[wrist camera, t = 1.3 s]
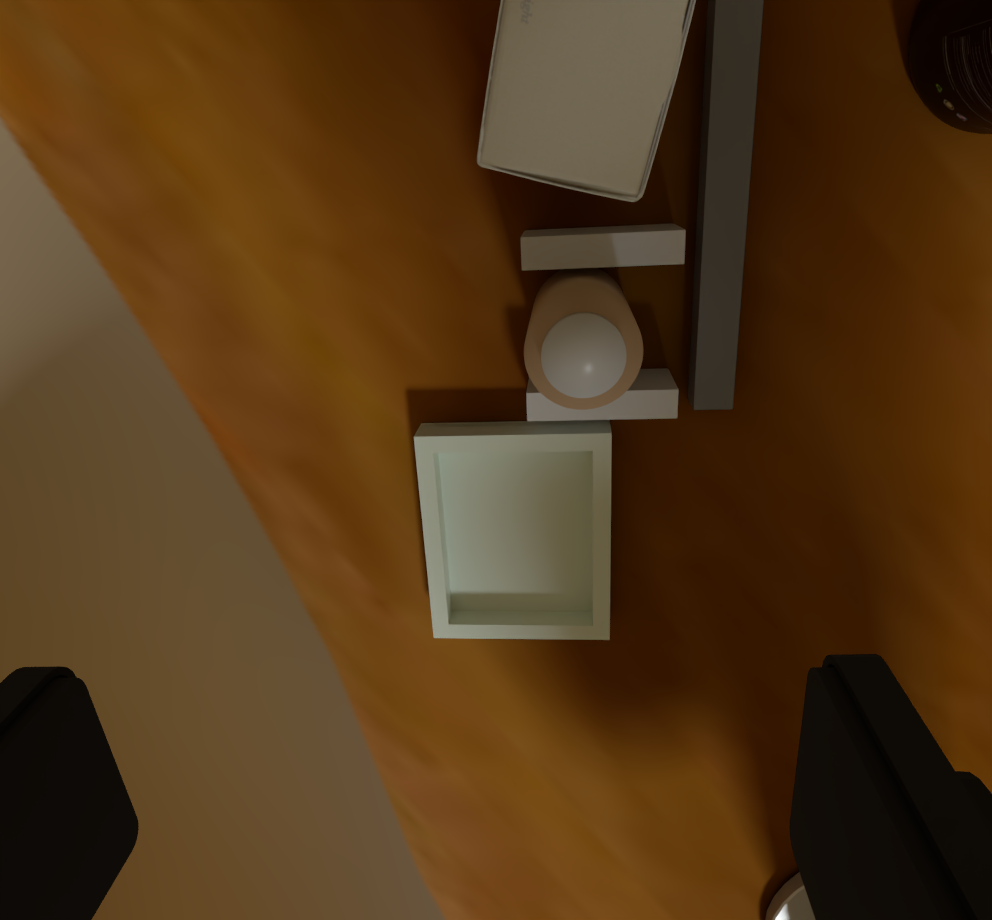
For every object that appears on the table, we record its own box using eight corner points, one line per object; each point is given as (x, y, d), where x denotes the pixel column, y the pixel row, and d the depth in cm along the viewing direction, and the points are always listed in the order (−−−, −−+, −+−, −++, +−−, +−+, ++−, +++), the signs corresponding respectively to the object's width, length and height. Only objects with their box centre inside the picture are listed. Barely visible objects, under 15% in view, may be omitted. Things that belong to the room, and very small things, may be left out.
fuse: (627, 263, 30) (646, 293, 23) (626, 358, 31) (643, 414, 24) (530, 267, 30) (520, 298, 23) (533, 360, 32) (524, 416, 25)
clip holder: (762, -132, 24) (789, -173, 22) (724, 397, 32) (741, 421, 29) (513, -109, 25) (506, -144, 22) (531, 402, 32) (527, 425, 29)
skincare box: (539, -17, 26) (520, -151, 15) (657, 9, 26) (726, -106, 15) (504, 165, 29) (465, 166, 18) (612, 189, 29) (643, 205, 18)
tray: (609, 419, 32) (611, 433, 31) (607, 618, 36) (609, 640, 35) (421, 423, 33) (413, 436, 32) (439, 616, 37) (433, 637, 36)
